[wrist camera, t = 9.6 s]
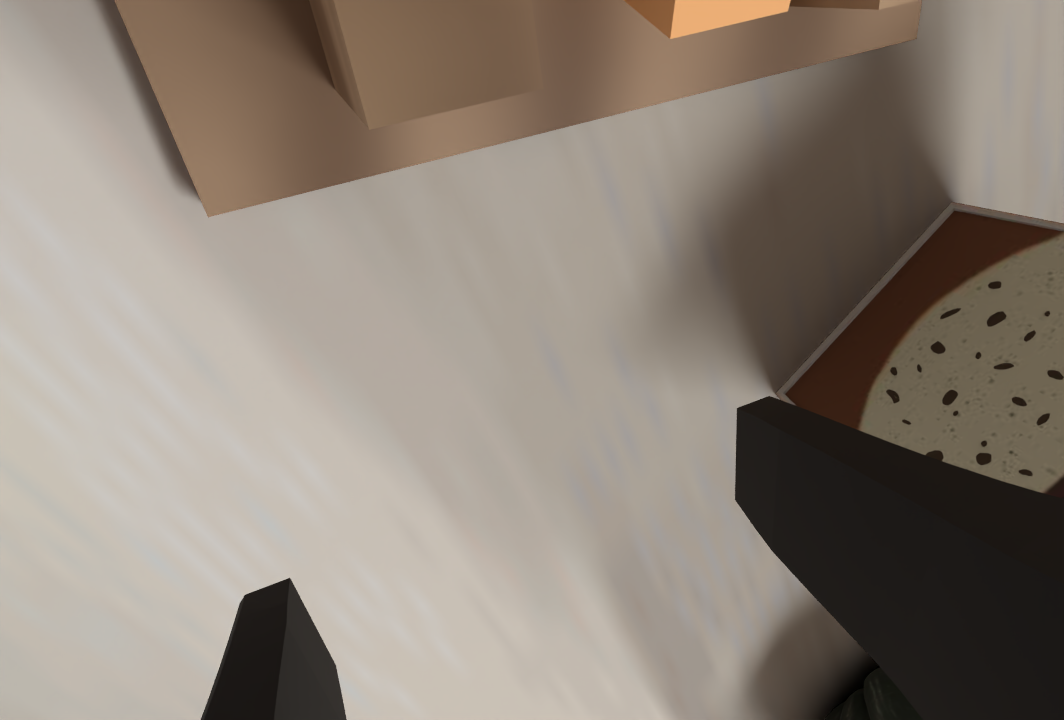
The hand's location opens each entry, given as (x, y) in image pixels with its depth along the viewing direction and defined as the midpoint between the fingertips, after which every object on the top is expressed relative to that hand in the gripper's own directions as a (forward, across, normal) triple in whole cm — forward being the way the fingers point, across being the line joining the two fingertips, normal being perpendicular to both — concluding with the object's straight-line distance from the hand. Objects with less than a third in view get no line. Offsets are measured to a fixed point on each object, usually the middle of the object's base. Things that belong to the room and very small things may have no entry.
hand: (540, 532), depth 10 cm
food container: (+10, -18, +8) cm, 22 cm away
